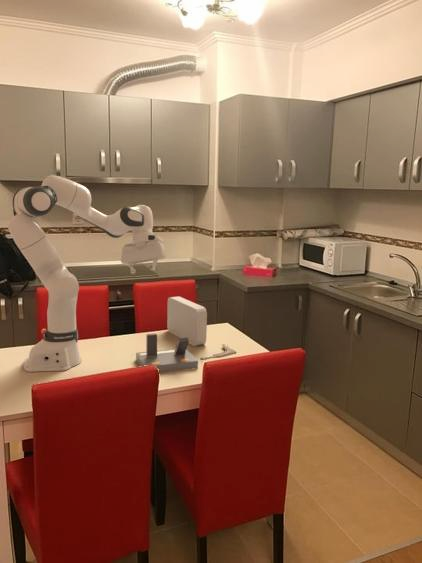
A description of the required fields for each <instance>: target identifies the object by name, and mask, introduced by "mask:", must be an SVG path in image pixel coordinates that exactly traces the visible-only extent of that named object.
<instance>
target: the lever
mask: <svg viewBox="0 0 422 563" xmlns="http://www.w3.org/2000/svg"><path fill="white" fill-rule="evenodd" d="M177 338H178V339H177V343H176V346H175V348H174V349H175V351H174V355H179V354H185V352H186V349H188V345H189V343H188V342H189V340H188V338H179V337H177Z"/></svg>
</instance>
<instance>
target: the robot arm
mask: <svg viewBox="0 0 422 563" xmlns="http://www.w3.org/2000/svg"><path fill="white" fill-rule="evenodd" d="M55 205H56V206H60V207H62V208H64V209H66V210H69V211H70V212H73V213H74V214H75V215H76V216H77V217H78V218H80V219H81V220H84V221H85V222H88V223H89V224H91V225H93V226H95V227H97V228H98V229H101V230H102V231H103V232H104V233H105V234H106V235H108V236H109V237H110V238H113V239H119V238H120V237H122V236H124V235H125V234H126V233H128V232H129V231H130V232H131V233H132V243H128V244H125V245H123V247H122V248H121V256H120V257H121V258H120V262H121V264H122V265H125V266H128V267H129V269H130V273H131V275H132V274H136V272H137V270H136V268H134V266H135V264H136V265H137V264H142V263H147V262H152V264H151V265H150V266H149V268H150V271H156V266H157V264H158V263H159V262H158V261H159V260H164V259H165V258H166V249H165V248H166V247H165V245H164V239H162V237H160V236H159V235H156V234H154V232H153V229H154V216H153V211H152V209H151V208H150V207H149V206H147V205H144V204H138V205H136V206H124V207H122V208H120V209H119V210H117V211H115V212H114V213H113V214H109V215H108V214H104V213H103V212H101V211H99V210H97V209H95V208H94V207H93V206H91V205H92V194H91V191H90V190H89V189H88V188H87V187H86V186H84V185H82V184H81V183H79V182H76V181H73V180H71V179H69V178H66V177H62V176H59V175H54V174H51V175H48V176H46V177H45V178H44V179H43V181H42V183H41V185H40V186H28V187H24V188H20V189H19V190H17V191H16V192H15V193H14V195H13V197H12V208H13V217H12V218H11V219H10V220H9V221H8V223H7V229H8V231H9V233H10V235H11V238H12V239H13V241H14V244H15V245H16V246H17V248H18V249H19V250H20V252H21V254H22V255H23V257H24V258H25V259H26V260H27V263H29V265H30V266H31V268H32V269H33V271H34V272H35V274H36V276H37V278H38V279H39V280H40V281H41V283H42V285H43V286H44V288H45V289H46V290H47V291H48V292H47V293H48V306H47V310H46V311H47V312H46V317H47V329H46V328H42V329H41V334H42V339H41V340H40V341H39V342H37V343H36V344H35V345H33V346H32V347H31V348H30V351H29V354H28V357H27V358H26V359H24V360H23V362H22V363H23V364H22V367H23V370H24V371H26V372H29V373H31V372H32V373H33V372H57V371H58V372H59V371H68V370H69V369H71V368H73V367H75V366H78V365H80V363H81V362H82V357H81V354H80V351H79V345H78V340H79V332H78V331H79V330H78V327H77V302H78V296H79V295H78V294H79V291H80V284H79V281H78V278H77V277H76V276H75V275H74V274H73V273H72V272H70V271H69V270H68V268H67V267H66V266H65V263H64V262H63V260H62V259H61V257H60V254H58V251H57V249H56V248H55V247H54V245H53V244H52V242H51V241H50V239H49V238H48V236H47V234H46V233H45V232H44V230H43V229H42V226H41V224H40V221H39V218H40V217H43V216H47V214H49V213H50V212H51V211H52V209H53V208H54V206H55Z"/></svg>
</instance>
